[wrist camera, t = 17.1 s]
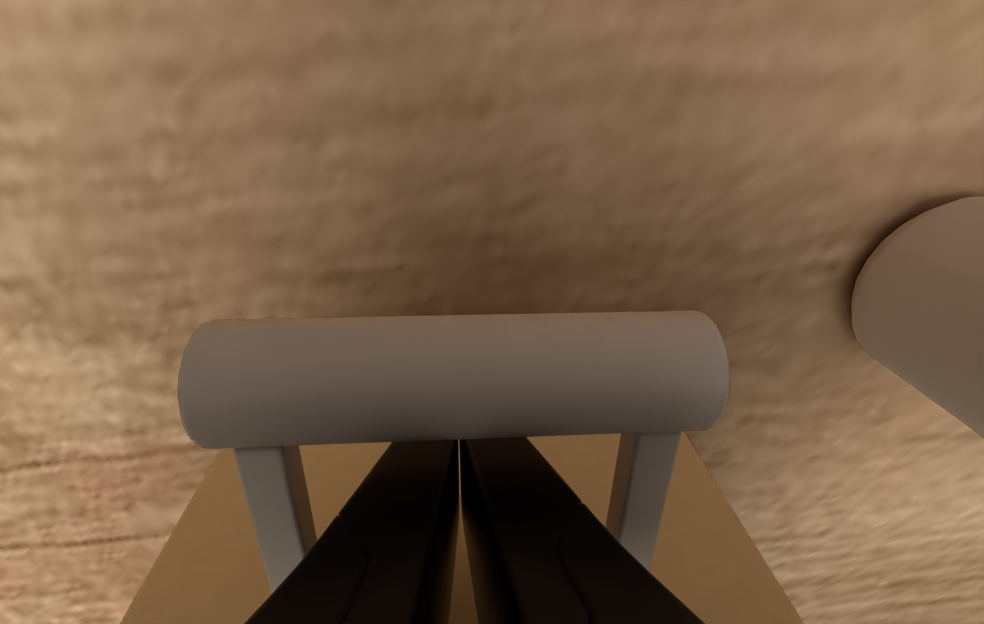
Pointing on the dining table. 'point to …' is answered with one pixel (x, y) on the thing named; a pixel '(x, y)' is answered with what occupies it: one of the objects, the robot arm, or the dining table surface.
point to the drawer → (452, 416)
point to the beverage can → (930, 306)
